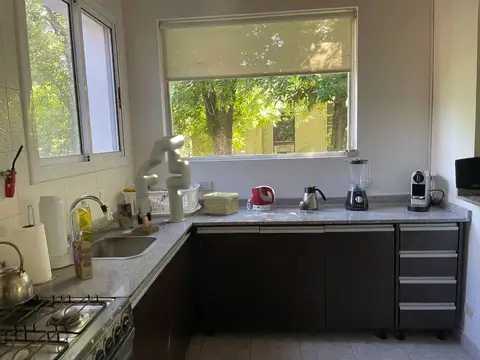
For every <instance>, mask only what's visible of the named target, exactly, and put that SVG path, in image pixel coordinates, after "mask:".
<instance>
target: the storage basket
mask: <svg viewBox="0 0 480 360" xmlns="http://www.w3.org/2000/svg"><path fill="white" fill-rule="evenodd" d="M239 196H240V195H239V193H238V192H219V191H216V192H210V193H206V194H203V196H202V199H203V203H204V209H205V214H208V213H209V215H219V216H220V215H223V216H228V215H231V214H232V215H233V214H235V213H238V212H239Z"/></svg>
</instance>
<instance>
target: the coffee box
mask: <svg viewBox="0 0 480 360" xmlns="http://www.w3.org/2000/svg"><path fill="white" fill-rule="evenodd" d="M116 207H117V208H116V209H117V215H118V216H117V217H118V226H119V228H118V229H120V228H125V229H131V228H130V227H133V228H134V218H133V210H132V209H133V208H132V203H131V202H128V203H120V204H119V203H118V204H117V206H116Z"/></svg>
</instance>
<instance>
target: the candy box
mask: <svg viewBox="0 0 480 360" xmlns="http://www.w3.org/2000/svg"><path fill="white" fill-rule="evenodd" d="M71 245H72V256H73V258H72V259H73V266H74V276H75V277H76V278H78V279H81V280H84V281H86V280H89V279H91V278H94V274H93V263H92V250H91V242H90V241H87V240H84V239H76V240H72V241H71Z"/></svg>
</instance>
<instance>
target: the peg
mask: <svg viewBox="0 0 480 360" xmlns="http://www.w3.org/2000/svg"><path fill="white" fill-rule="evenodd" d="M142 219H143V224H142V225H141V226H142V229H149V228H148V226H149V221H148V217H147V216H146V215H145V216H142Z"/></svg>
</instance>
